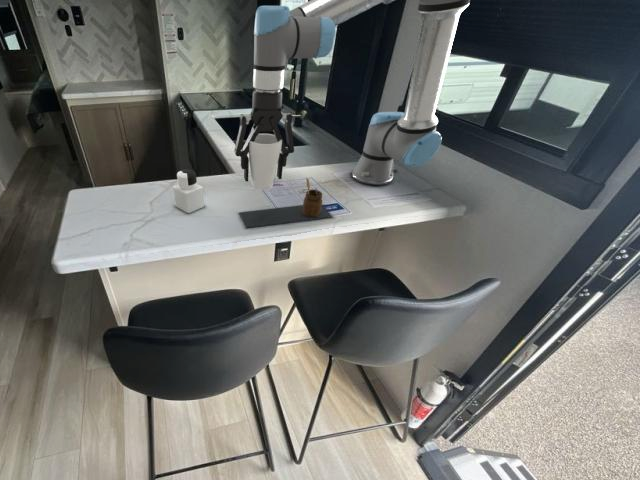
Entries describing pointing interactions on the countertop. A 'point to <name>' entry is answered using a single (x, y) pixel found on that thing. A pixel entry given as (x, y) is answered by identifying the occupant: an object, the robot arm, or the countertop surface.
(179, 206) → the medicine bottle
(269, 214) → the edge runner mat
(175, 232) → the countertop surface
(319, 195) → the utensil holder
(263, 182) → the foam cup
